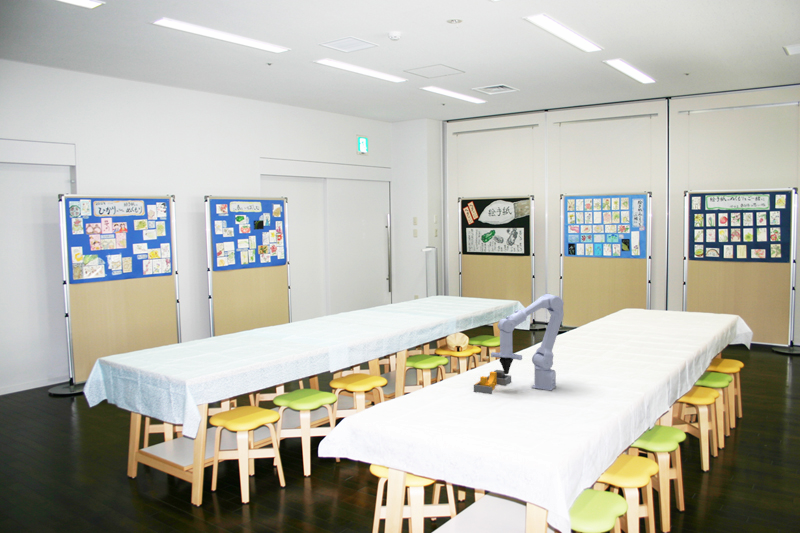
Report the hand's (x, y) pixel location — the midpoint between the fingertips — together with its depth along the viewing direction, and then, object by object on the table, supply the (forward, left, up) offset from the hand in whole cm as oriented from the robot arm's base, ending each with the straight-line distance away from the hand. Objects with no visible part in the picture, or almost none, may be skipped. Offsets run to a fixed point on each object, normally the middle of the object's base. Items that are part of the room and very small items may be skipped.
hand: (506, 373), depth 272 cm
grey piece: (+8, -3, -8) cm, 11 cm away
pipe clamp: (+8, -1, -8) cm, 12 cm away
